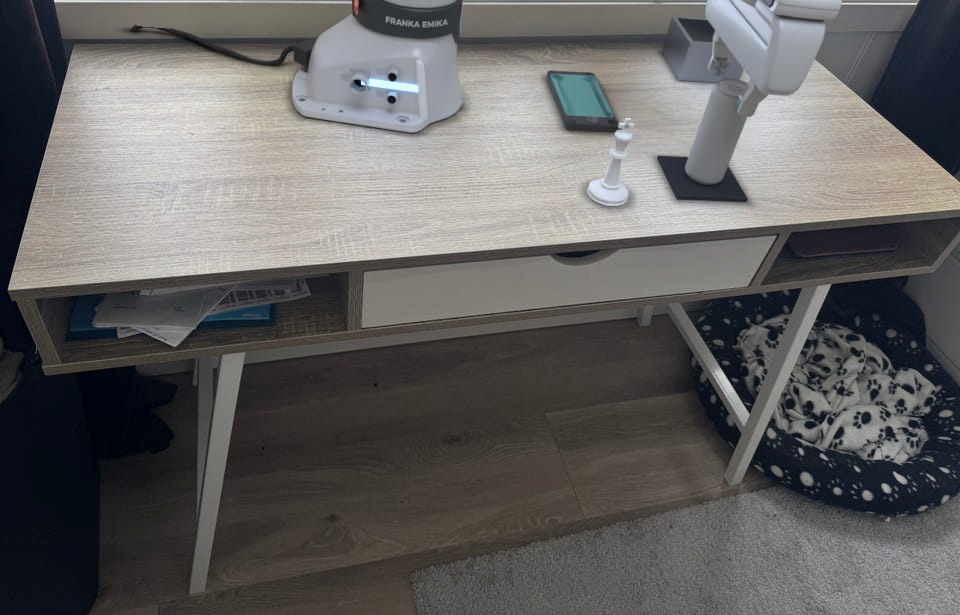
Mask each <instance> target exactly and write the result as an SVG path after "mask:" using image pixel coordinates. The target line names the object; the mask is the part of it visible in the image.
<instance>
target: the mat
mask: <svg viewBox="0 0 960 615" xmlns="http://www.w3.org/2000/svg"><path fill="white" fill-rule="evenodd" d="M688 157H689V156H679V155H678V156H676V155H657V157H656V159H657V162H658V164H659V166H660V167H661V170H662V172H663V174H664V177H665V179H666V180H667V183H668V185H669V186H670V188H671V190H672V193H673V195H674V197H675V199H676V200H679V201H680V200H681V201H682V200H683V201H706V202H707V201H708V202H731V203H748V200H749V198H748V196H747V195H746V193H745V191H744V190H743V188H742V186H741V185H740V183H739V181H738V180H737V178H736V176H735V175H734V172H733V171H732V170H731V168H730V166H729V165H728V167H727V170H726V172H725V175H724V177H723V179H722V180H721V181H720V182H718V183H716V184H714V185H703V184H700V183H697V182H695V181H693V180H692V179H690V178H689V177H688V175H687V174H686V171H685V166H686V163H687V160H688Z"/></svg>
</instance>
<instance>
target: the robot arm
mask: <svg viewBox="0 0 960 615" xmlns="http://www.w3.org/2000/svg"><path fill="white" fill-rule="evenodd" d="M463 1H464V0H351V12H352V13H351V14H349V15H348V16H347V17H345V18H343V19H342V20H340V21H339V22H337V23H336V24H334V25H332V26H331V27H329V28H328V29H327V30H324V31H323V32H321V34H320V35H319V36H316V37H313V38H310V39H307V40H304V41H301V42H298V43H294V44H291V45H288V46H287V47H285V48H284V49H283V50H282V51H281V53H280V56H279V57H278V58H277V59H274V60H266V61H265V60H259V59H254V58H251V57H248V56H246V55H243V54H242V53H239V52H236V51H234V50H231V49H230V48H229V49H228V48H226V47H223V46H220V45H216V44H214V43H212V42H210V41H207V40H206V39H203V38H202V37H199V36H197V35H195V34H192V33H190V32H186V31H183V30H179V29H177V28H171V27H169V28H170V29H167V28H154V27H142V26H137V25H136V24H134V25H132V27H130V29H129V31H128V32H129V33H136V32H138V31H139V30H141V29H155V30H158V31H162V32H164V33H165V32H166V33H168V34H171V35H175V36H179V37H183V38H186V39H189V40H192V41H194V42H196V43H198V44H200V45H202V46H204V47H206V48H208V49H210V50H213V51H216V52H219V53H222V54H225V55H228V56H231V57H233V58H236V59H237V60H240V61H242V62H245V63H249V64H254V65H259V66H265V67H276V66H279V65H282V64H283V63H284V62H285V60H286V57H287V56H288V54H289V53H291V52H293V62H295V63H297V64H298V65H300V66H301V67H300V68H299V69H298V71H296V74H295V75H294V78H293V81H292V88H291V100H292V104H293V107H294V108H295V110H296V111H297V112H298V113H299V114H300V115H301V116H303V117H306V118H313V119H319V120H325V121H332V122H337V123H346V124H351V125H357V126H363V127H364V126H365V127H370V128H376V129H377V128H379V129H385V130H389V131H390V130H391V131H397V132H404V133H410V134H411V133H418V132H420V131H422V130H424V129H425V128H426V127H427V126H428V125H430V124H432V123H436V122H438V121H441V120H444V119H447V118H450V117H451V116H453V115H455V114H456V113H457V112H458V111H459V110H460V109H461V107H462V105H463V100H464V98H463V95H462V88H461V84H460V77H459V65H458V64H459V63H458V62H459V61H458V43H459V41H460V35H461V33H462V25H463V14H464V2H463ZM842 4H843V0H707V1H706V4H705V10H704V11H705V13H704V16H705V17H704V18H706V19H707V20H708V21H709V23H710V24H711V25H712V27H713V28H714V29H715V33H714V36H713V44H712V57H711V60H710V62H709V65H708V69H709V70H710V72H711V73H712V75H714V76H716V75H718V76H723V75H725V74H726V71H727V68H728V66H729V64H730V62H729V60H728V57H729V52H730V51H731V52H732V54H733V55H734V57H735V58H736V59H737V61H738V62H739V63H740V65H741V66H742V67H743V71H745V73H746V74H747V76H748V77H749V81H748V82H747V83H748V86H749V87H750V88H749V89H748V91H747V92H746V93H745V95H739V97H738V99H737V103H736V104H735V109H736V111H737V113H738V114H739V115H740V116H743V117H747V118H751V117H753V116H754V115H755V113H756V110H757V109H758V106H759V105H760V103H762V101H764V100H765V99H766V98H767V97H769V96H782V97H789V96H792V95H793V94H795V93H796V92H797V91H798V90H799V89H800V88H801V86H802V84H803V83H804V82H805V80H806V78H807V76H808V74H809V73H810V70H811V68H812V66H813V64H814V63H815V59H816V58H817V55H818V53H819V50H820V49H821V46H822V44H823V41H824V37H825V33H826V22H825V21H833V20H834V19H836V17H837V15H838V14H839V12H840V10H841V7H842Z"/></svg>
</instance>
